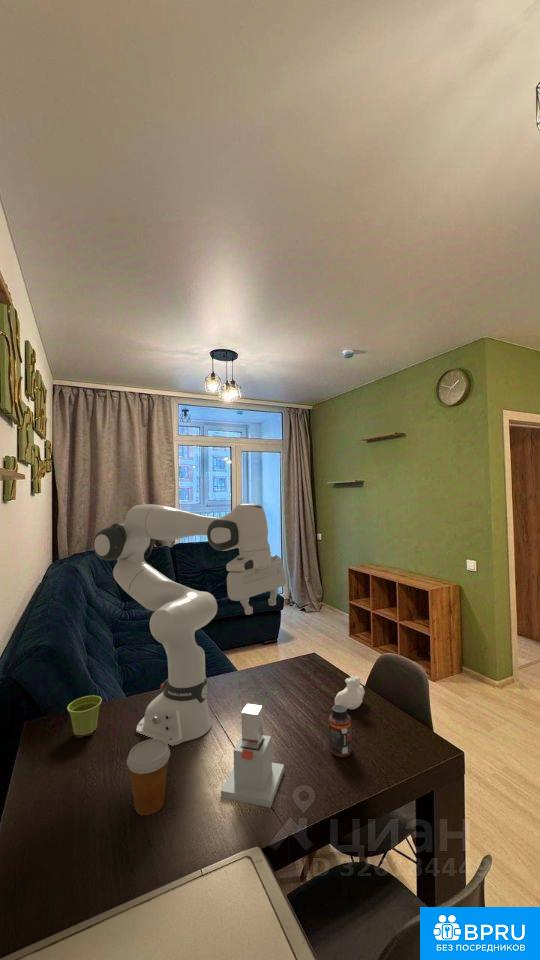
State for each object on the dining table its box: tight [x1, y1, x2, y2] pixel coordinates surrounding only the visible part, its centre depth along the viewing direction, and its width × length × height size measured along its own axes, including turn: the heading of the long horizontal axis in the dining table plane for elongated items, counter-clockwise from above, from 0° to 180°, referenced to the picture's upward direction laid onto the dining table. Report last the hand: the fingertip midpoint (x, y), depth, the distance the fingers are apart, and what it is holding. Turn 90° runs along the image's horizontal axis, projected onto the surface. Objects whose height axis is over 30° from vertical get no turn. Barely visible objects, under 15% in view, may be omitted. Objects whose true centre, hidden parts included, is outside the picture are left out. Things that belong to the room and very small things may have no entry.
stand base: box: [220, 734, 285, 808], centre depth 94 cm, size 12×12×10 cm
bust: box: [334, 674, 365, 710], centre depth 126 cm, size 12×8×11 cm
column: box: [240, 703, 264, 751], centre depth 94 cm, size 4×4×16 cm
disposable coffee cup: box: [126, 738, 171, 816], centre depth 88 cm, size 10×10×12 cm
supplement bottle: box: [328, 704, 353, 758], centre depth 105 cm, size 6×6×11 cm
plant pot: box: [66, 695, 103, 735], centre depth 116 cm, size 9×9×9 cm
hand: (261, 609), depth 109 cm, fingers open, 8 cm apart
